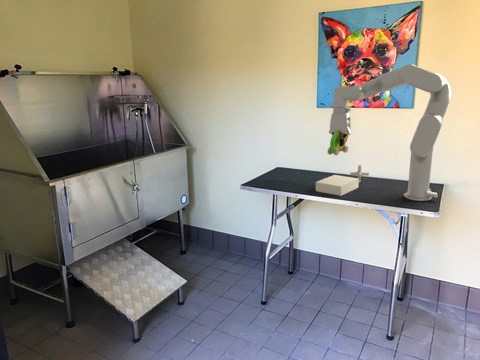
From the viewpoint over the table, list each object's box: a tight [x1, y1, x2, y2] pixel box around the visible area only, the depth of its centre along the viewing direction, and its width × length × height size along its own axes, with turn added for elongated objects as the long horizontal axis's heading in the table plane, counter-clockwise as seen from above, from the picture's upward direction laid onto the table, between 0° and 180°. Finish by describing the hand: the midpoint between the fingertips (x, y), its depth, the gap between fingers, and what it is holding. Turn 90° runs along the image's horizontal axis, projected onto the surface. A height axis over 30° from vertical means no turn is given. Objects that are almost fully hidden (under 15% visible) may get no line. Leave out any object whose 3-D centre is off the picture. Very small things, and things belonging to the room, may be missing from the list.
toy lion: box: [327, 130, 349, 156], centre depth 210 cm, size 16×5×15 cm, turn 138°
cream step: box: [315, 174, 360, 197], centre depth 216 cm, size 15×20×5 cm
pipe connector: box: [349, 164, 370, 184], centre depth 228 cm, size 10×10×10 cm
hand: (339, 145), depth 211 cm, fingers closed on toy lion
